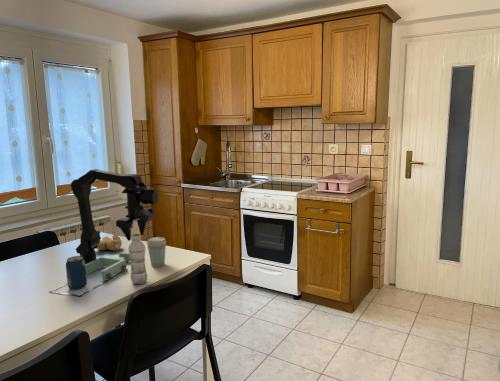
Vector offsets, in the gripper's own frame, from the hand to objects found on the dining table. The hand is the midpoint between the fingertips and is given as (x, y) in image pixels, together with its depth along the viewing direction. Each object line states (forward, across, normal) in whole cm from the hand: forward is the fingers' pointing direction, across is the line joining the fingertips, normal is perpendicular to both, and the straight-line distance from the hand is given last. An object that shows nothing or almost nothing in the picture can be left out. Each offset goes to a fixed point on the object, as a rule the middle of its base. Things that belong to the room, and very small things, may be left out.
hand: (135, 237), depth 174 cm
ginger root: (+14, +16, +28) cm, 36 cm away
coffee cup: (+14, +5, -8) cm, 16 cm away
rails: (+14, -19, +9) cm, 25 cm away
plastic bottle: (+14, -15, -12) cm, 24 cm away
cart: (+13, -7, +9) cm, 18 cm away
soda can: (+14, -27, +8) cm, 31 cm away
